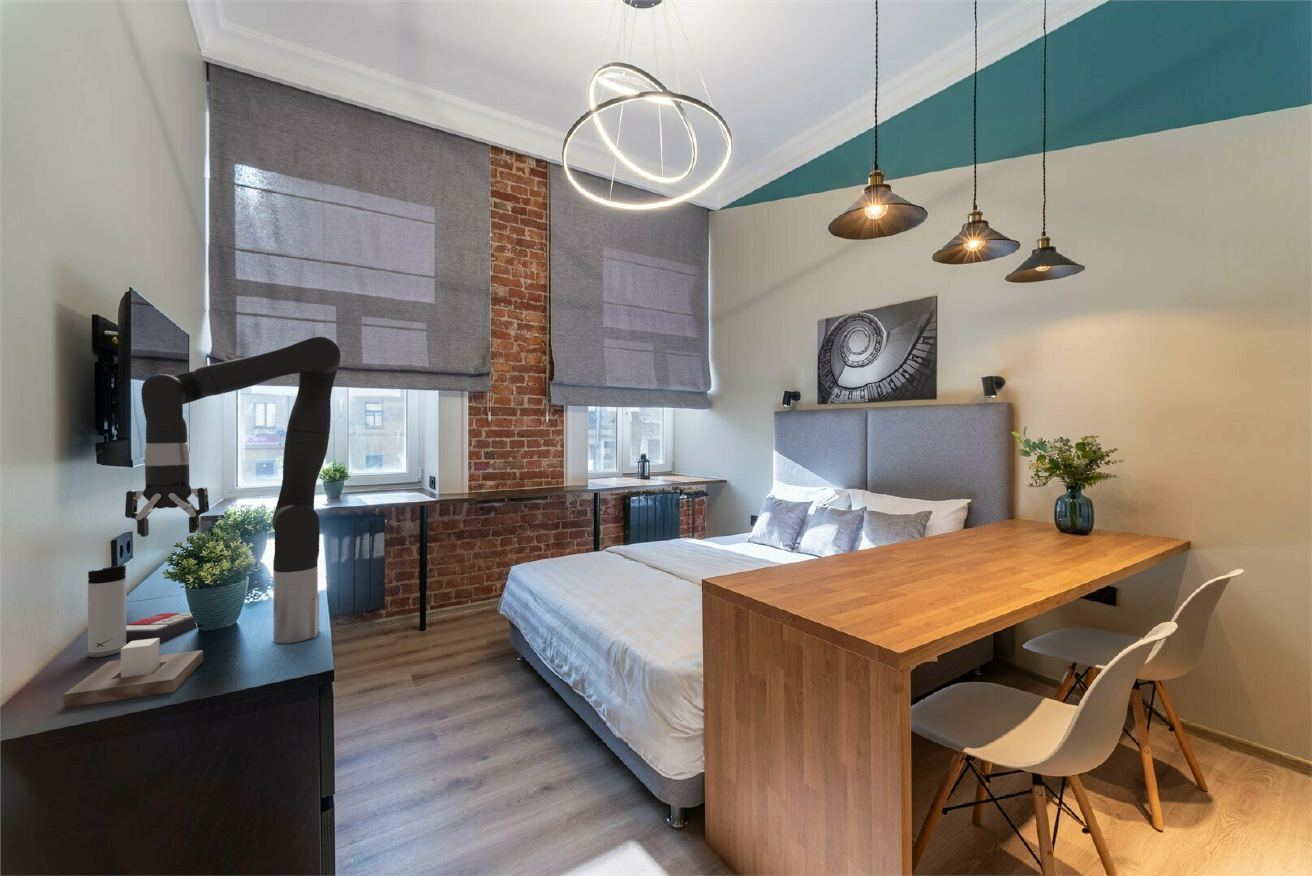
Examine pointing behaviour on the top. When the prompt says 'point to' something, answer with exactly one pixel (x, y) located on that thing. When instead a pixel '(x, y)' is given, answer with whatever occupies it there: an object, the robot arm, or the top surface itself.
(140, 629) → the calculator
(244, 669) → the top surface
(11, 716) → the top surface
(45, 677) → the top surface
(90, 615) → the travel mug
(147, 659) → the peg
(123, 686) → the socket base
